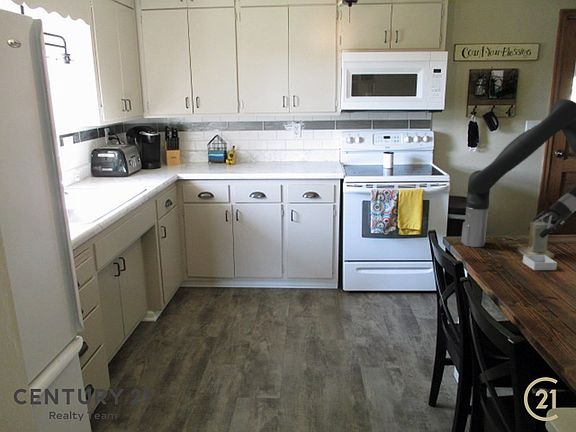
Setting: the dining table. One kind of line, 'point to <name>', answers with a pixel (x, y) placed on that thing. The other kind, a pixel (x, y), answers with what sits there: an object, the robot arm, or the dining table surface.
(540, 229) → the skincare box
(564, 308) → the dining table surface
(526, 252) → the birch board
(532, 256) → the gray square frame
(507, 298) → the dining table surface
